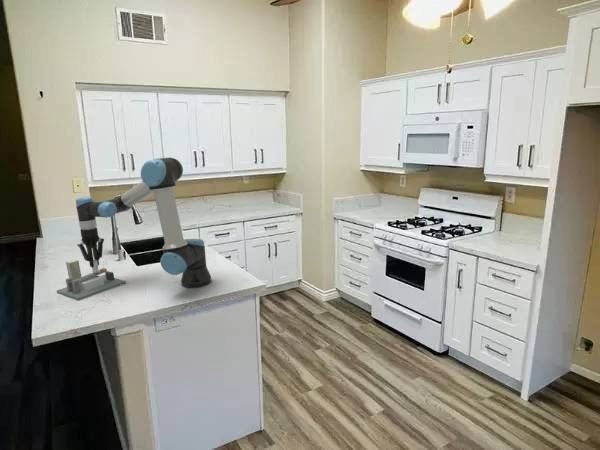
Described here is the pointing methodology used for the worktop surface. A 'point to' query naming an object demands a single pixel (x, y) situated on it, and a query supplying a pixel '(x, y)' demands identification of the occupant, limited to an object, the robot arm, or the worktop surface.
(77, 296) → the clamp base
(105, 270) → the lever handle
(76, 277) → the box
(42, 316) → the worktop surface
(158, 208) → the robot arm
